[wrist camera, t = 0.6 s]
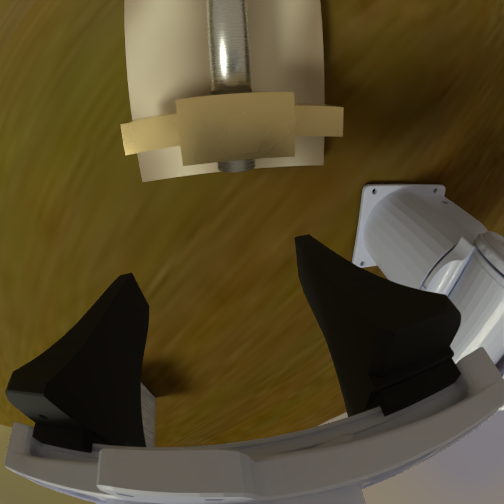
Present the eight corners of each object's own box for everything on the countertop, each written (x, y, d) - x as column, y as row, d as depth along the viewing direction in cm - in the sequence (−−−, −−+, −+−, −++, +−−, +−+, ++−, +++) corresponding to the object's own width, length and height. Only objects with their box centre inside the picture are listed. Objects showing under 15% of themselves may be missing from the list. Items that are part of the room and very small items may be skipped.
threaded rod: (239, -69, 7) (243, -85, 5) (252, 160, 15) (257, 170, 14) (204, -68, 7) (204, -83, 5) (217, 163, 15) (218, 174, 14)
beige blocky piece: (302, -73, 8) (335, -113, 3) (316, 159, 19) (358, 192, 14) (134, -64, 7) (110, -106, 2) (147, 175, 18) (120, 216, 13)
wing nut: (318, 92, 15) (356, 95, 11) (318, 137, 17) (353, 155, 12) (137, 106, 14) (109, 113, 10) (143, 152, 16) (119, 176, 11)
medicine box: (102, 369, 29) (91, 428, 22) (132, 367, 29) (124, 431, 22) (129, 398, 34) (124, 451, 26) (157, 397, 34) (154, 452, 27)
